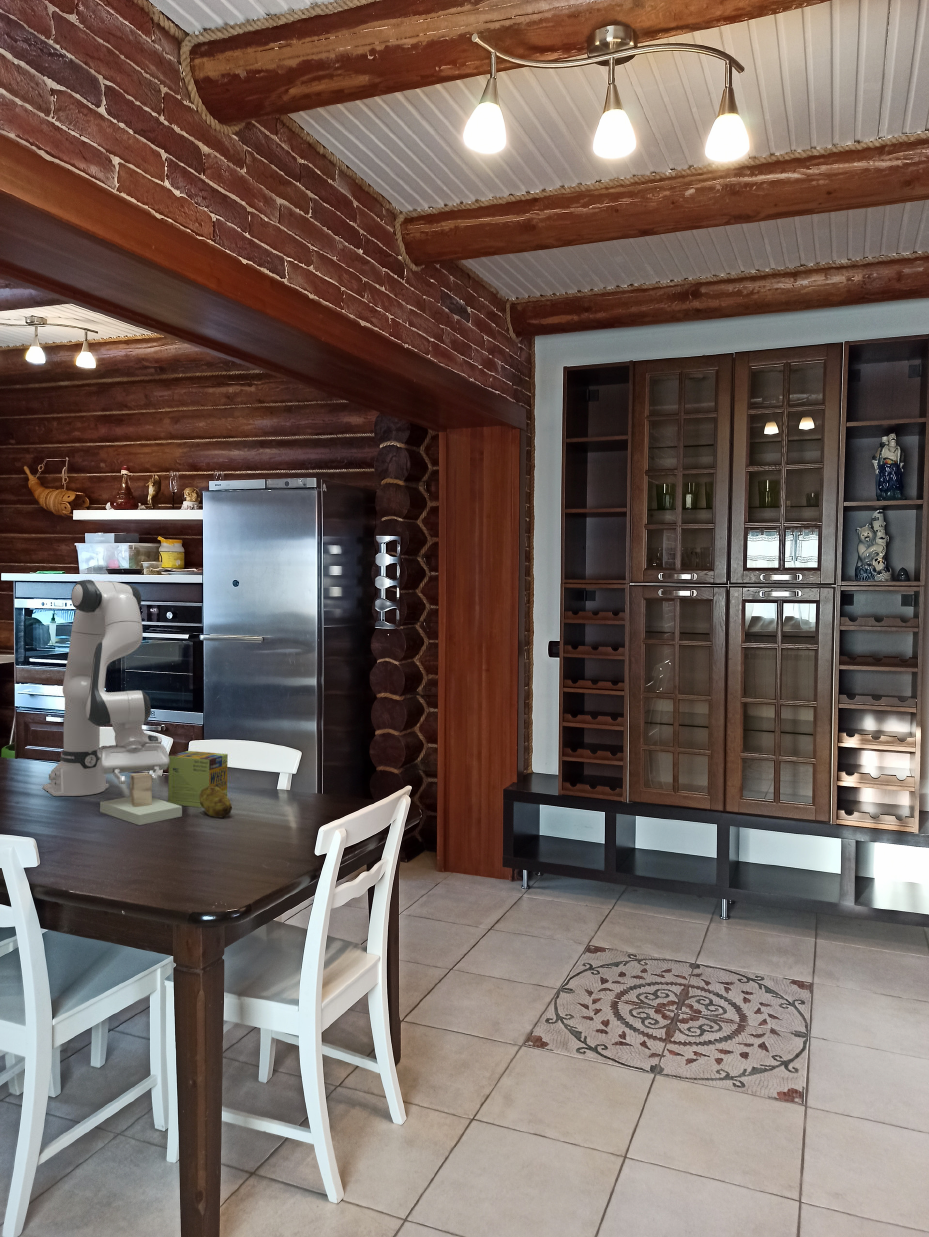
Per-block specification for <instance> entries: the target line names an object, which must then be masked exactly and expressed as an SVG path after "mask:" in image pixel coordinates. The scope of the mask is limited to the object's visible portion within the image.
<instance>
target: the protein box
mask: <svg viewBox="0 0 929 1237" xmlns="http://www.w3.org/2000/svg"><path fill="white" fill-rule="evenodd" d="M168 756H169V760H170V763H169V766H168V791H167V792H168V793H167V794H168V795H167V796H168V798H167V799H168V800H167V802H169V803H172V804H176V805H179V806H182V807H183V806H185V807H192V808H200V807H201V808H202V809H204V808H203V807H202V806H201V804H200V800H199V797H200V793H201V791H202V790H203V789H205V788H207V787H209V786H215V787H218V788H220V790H221V791H223V792H224V793H225V794H226V795H227V796H228V753H218V752H210V751H209V752H208V751H197V750H194V751H193V750H187V751H183V752H179V753H175V754H171V755H168Z"/></svg>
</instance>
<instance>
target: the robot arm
mask: <svg viewBox="0 0 929 1237" xmlns="http://www.w3.org/2000/svg"><path fill="white" fill-rule="evenodd" d="M70 594H71V596H70V600H71V604H72V605H73V606H74V609H75V610H76V611H75V614H74V618H73V621H72V625H71V631H70V632H71V633H70V640H69V646H68V654H67V660H66V665H65V666H66V667H65V671H64V677H63V683H62V684H63V685H62V694H63V698H64V716H63V717H64V718H63V749H62V750H61V752H60V761H59V763H57V765H56V766H55V767H53V769H51V771H50V773H49V774H48V780H49V782H48V783H45V784H43V785H42V789H43V790H44V791H46V792H47V791H48V792H47V793H49V794H50V795H52V796H53V797H61V796H62V797H65V796H67V797H71V796H72V797H76V796H78V797H79V796H90V795H94V794H95V795H96V794H99V793H103V792H104V791H105V790H106V789H108V788H110V784H109V783H106V775H108V774H109V775H111V774H112V775H113V777H114V778H115V779H116V780H117V781H118V785H125V783H126V776H122V775H121V774H122V773H123V774H125V773H141V772H150V771H151V772H152V773H153V774H152V773H151V775H152V783H154V782H155V783H156V782H158V772H159V771H166V770H167V769H168V768H169V763H170V760H169V756H170V755H169V753H168V750H167V748H166V747H165V745H164V744H162V742H163V739H162V737H161V736H159V735H154V734H149V733H146V732H144V729H143V725H144V724H145V723H147V721H148V720H149V719H150V717H151V715H152V707H151V701H150V697H149V696H148V695H147V693H146V692H144V691H143V690H126V691H115V692H114V691H113V692H112V691H111V692H110V691H109V692H107V691H106V690H105V684H106V677H107V676H106V674H107V668H108V666H109V665H110V663H111V662H113V661H115V660H118V659H120V658H123V657H126V656H128V655H129V654H131V653H133V652H134V651H136V650H137V649H138V648H139V647H140V646H141V644H142V642H143V634H144V632H143V631H144V630H143V622H142V621H143V620H142V617H141V611H140V608H141V606H142V605H141V604H142V593H141V591H140V590H139V588H138V587H136V586H134V585H132V584H129V583H121V582H118V581H111V580H107V581H106V580H92V579H82V580H79V581H77V582H76V583H75V584H74V586H73V587H72V591H71V593H70ZM108 725H112V730H113V733H114V742H115V744H113V745H101V743H100V741H101V740H100V739H101V737H100V736H101V734H100V733H101V729H100V727H102V726H108ZM100 745H101V747H100Z"/></svg>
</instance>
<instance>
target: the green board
mask: <svg viewBox="0 0 929 1237" xmlns="http://www.w3.org/2000/svg"><path fill="white" fill-rule="evenodd" d="M99 804H100V808H99V809H100V810H99V811H100V813H102V814H105V815H107V816H108V815H109V816H110V817H114V818H117V819H120V820H124V821H126V822H129V823H132V824H135V825H138V826H142V825H146V824H151V823H156V822H162V821H166V820H171V819H175V818H179V817H180V818H181V817H182V816H183V805H176V804H172V803H169V802H168V801H165V800H162V799H159V798H156V797H153V796H152V805H147V806H139V807H134V806H133V805H131V804H130V796H125V797H121V798H115V799H110V800H105V801H100V803H99Z"/></svg>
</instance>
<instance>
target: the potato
mask: <svg viewBox="0 0 929 1237" xmlns="http://www.w3.org/2000/svg"><path fill="white" fill-rule="evenodd" d="M199 800H200V804H201V806H202V807H203V808H202V809H203V810H204V811H205V813H206V814H207V815H209V816H210V817H212V818H214V817H215V818H225V817H228V816H229V815H230V814H231V812H232V810H233V806H232V802H231V801H230V799H229V797H228V794H227V795H226V794H225V793H224V792H223V791H221V790H220V788H218V787H215V786H209V787H207V788H205V789H203V790H202V791H201V793H200V797H199Z"/></svg>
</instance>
